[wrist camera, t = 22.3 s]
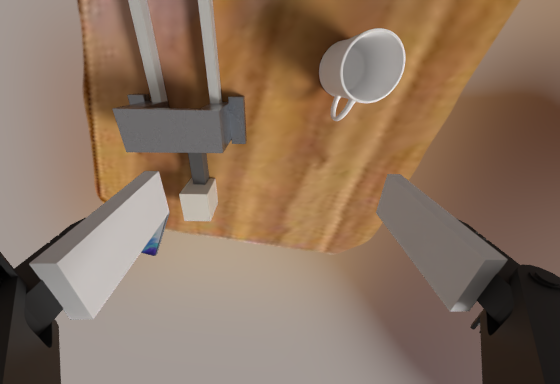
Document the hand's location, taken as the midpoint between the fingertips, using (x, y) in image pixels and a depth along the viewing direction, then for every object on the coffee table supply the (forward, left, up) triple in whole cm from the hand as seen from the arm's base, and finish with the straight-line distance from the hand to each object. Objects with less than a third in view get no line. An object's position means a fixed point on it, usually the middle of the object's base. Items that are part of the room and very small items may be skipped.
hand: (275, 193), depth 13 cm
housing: (+1, -14, -31) cm, 34 cm away
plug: (+11, -14, -31) cm, 36 cm away
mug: (-6, +12, -31) cm, 34 cm away
